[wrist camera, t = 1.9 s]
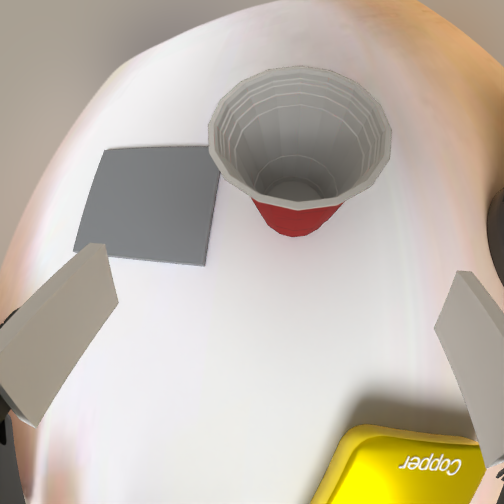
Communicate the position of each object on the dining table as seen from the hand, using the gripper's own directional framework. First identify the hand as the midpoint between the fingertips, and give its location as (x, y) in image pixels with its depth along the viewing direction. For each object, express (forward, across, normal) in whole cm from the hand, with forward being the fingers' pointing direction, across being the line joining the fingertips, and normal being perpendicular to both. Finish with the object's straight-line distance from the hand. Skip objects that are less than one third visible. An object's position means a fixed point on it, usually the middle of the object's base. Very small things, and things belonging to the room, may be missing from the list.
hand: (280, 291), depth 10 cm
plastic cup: (+18, +1, -3) cm, 18 cm away
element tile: (-1, +12, -23) cm, 26 cm away
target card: (+18, -13, -3) cm, 22 cm away
